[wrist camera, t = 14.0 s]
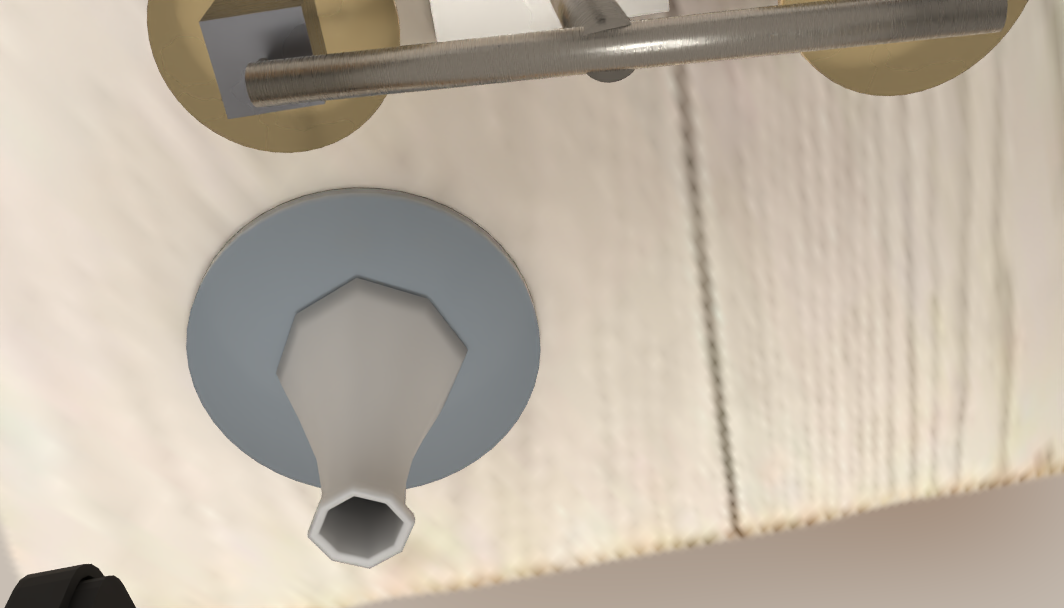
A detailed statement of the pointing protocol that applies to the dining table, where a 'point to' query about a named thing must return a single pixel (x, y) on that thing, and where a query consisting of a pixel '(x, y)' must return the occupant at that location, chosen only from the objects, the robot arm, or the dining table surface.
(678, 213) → the dining table surface
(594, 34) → the tipped balance
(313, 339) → the flask
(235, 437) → the slate dish
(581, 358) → the dining table surface
